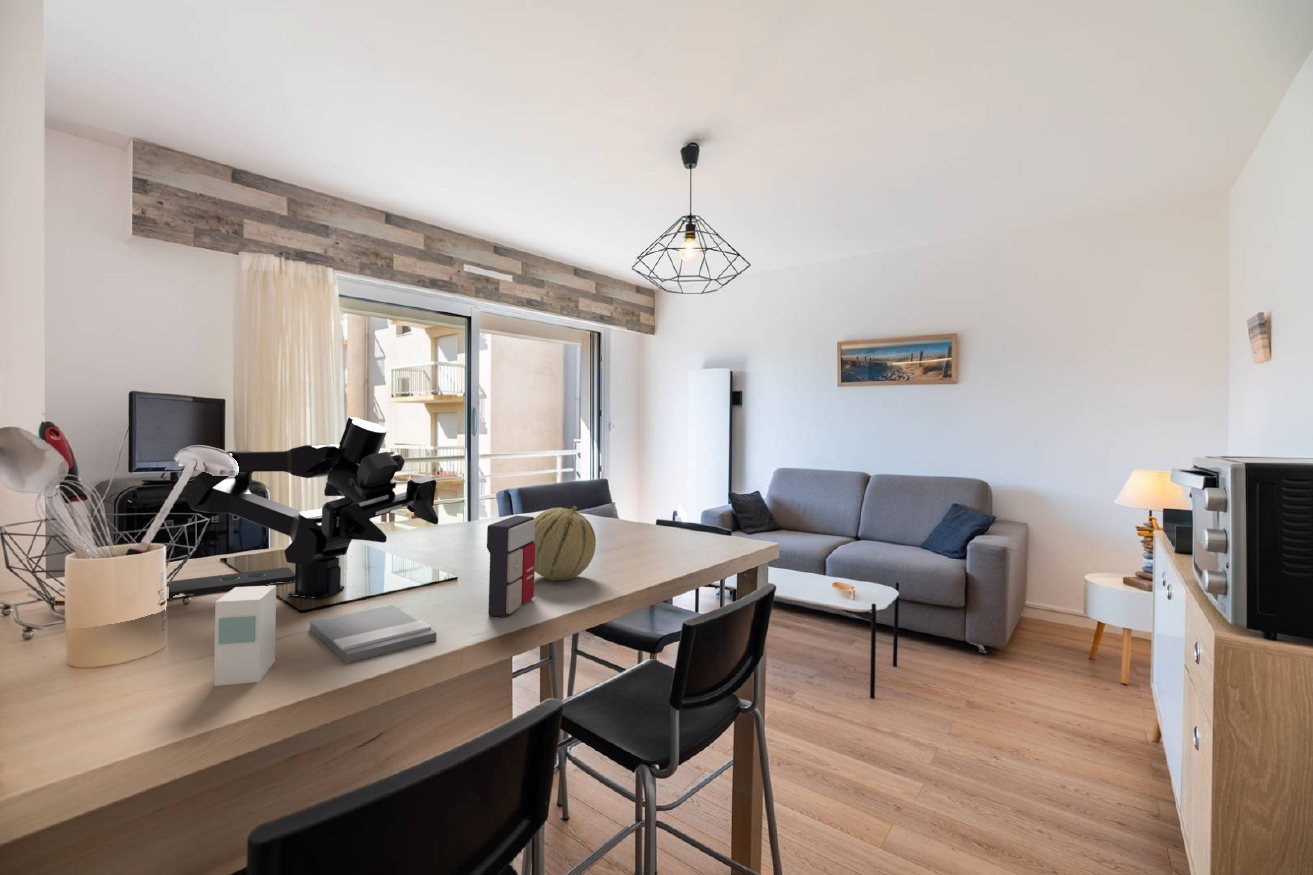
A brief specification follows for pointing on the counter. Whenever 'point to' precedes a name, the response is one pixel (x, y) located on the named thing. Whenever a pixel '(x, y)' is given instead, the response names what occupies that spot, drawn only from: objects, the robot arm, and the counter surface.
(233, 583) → the smart home device
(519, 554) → the grey red panelled box
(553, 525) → the cantaloupe
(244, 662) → the block
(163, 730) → the counter surface
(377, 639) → the grey flat rectangular slab
